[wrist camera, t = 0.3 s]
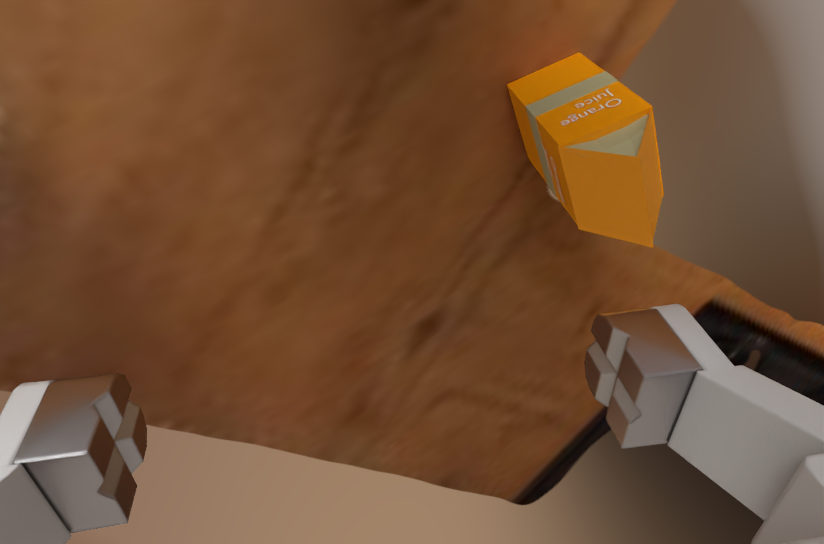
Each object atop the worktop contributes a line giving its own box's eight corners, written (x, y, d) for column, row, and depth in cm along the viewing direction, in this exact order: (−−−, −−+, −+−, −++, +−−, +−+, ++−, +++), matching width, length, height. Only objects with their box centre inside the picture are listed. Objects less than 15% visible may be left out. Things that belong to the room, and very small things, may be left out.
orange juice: (580, 50, 56) (693, 133, 40) (596, 129, 61) (701, 230, 45) (504, 84, 56) (585, 178, 40) (526, 159, 62) (605, 268, 46)
